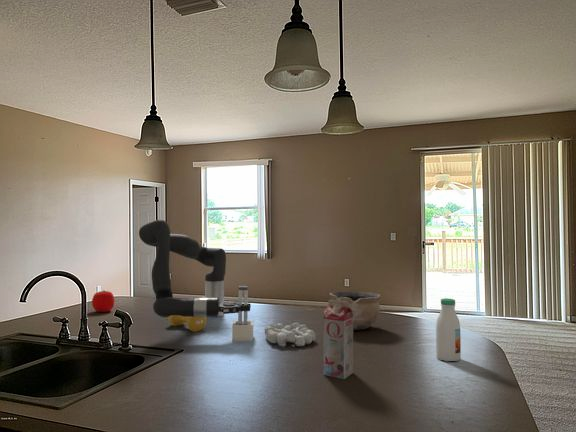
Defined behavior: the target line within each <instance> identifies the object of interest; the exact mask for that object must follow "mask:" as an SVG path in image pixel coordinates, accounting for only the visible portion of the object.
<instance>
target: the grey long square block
mask: <svg viewBox="0 0 576 432" xmlns="http://www.w3.org/2000/svg"><path fill="white" fill-rule="evenodd" d="M248 287H249V286H248V285H239V286H238V299H237V300H238V301H237V302H238V305H240V306H241V305H242V303H244V305H248V303H249V302H248V300H249V299H248V298H249V297H248V296H249V293H248V292H249V288H248ZM248 313H249V311H240V312H239V313H237V315H238V316H237V317H238V318H237V321H238V325H242V321H244V325H247V321H248Z"/></svg>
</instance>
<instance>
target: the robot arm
mask: <svg viewBox="0 0 576 432" xmlns="http://www.w3.org/2000/svg"><path fill="white" fill-rule="evenodd" d="M170 229H171V228H170V226H169V223H168V222H167V221H166V220H164V219H162V218H161V219H160V218H159V219H156V220H153V221H151V222H148V223H146V224H144V225H142V226H141V227H140V228H139V230H138V235H139V238H140V240H141V241H142V242H143V244H145V245H147V246H150V247H155V248H157V252H156V256H155V260H154V262H153V266H152V269H151V285H152V289H153V292H154V294H155V301H154V302H153V305H152V306H153V307H152V309H153V311H154V313H155V314H156V315H158V316H160V317H161V318H167V317H169V316H171V315H180V316H185V317H194V316H195V317H206V318H219V317H223V316H224V315H230V314H238V313H239V312H240V311H242V312H244V311H248V312H250V311H251V306H252V305H251V303H249V302H248V305H244V302H242V305H241V306H240V305H238V301H230V300H229V301H228V300H227V301H225V276H226V269H227V267H226V266H227V254H226V251H225V249H223V248H221V247H205V246H202V245H201V244H199V241H197V240H196V238H193V237H191V236H189V235H187V234H181V233H180V234H179V233H171V230H170ZM170 252H171V253H175V254H176V255H179V256H181V257H185V258H187V259H191V260H195V261H197V262H199V263H200V264H202V265H204V266H206V267H213V269H212V271H211V272H210V273H206V275H205V277H204V278H205V284H204V286H205V287H204V297H197V298H194V297H193V298H191V297H190V298H177V297H174V296H173V295H174V294H173V292H172V282H171V275H170V272H171V271H170Z"/></svg>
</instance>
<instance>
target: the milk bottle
mask: <svg viewBox="0 0 576 432" xmlns="http://www.w3.org/2000/svg"><path fill="white" fill-rule="evenodd" d="M440 306H441V309H440V312H439V315H438V316H437V319H436V325H435V326H436V327H435V328H436V329H435V357H436V358H437V359H438V360H440V361H442V360H444V361H443V362H448V361H457V362H459V361H461V357H462V356H461V355H462V354H461V353H462V351H461V349H462V348H461V347H462V346H461V343H462V342H461V339H462V338H461V323H460V319H459V317H458V315H457V313H456V309H455V307H456V300H455V299H453V298H448V297H447V298H444V297H443V298H441V299H440ZM458 360H459V361H458Z"/></svg>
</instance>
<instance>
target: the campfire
mask: <svg viewBox="0 0 576 432" xmlns="http://www.w3.org/2000/svg"><path fill="white" fill-rule="evenodd" d="M264 334H265V337H266V338H265V339H267V342H269V343H272V344H279V345H284V344H286V343H294V346H297V347H305V345H310V344H311V343H312V342H313V341H315V339H316V333H315V331H314V330H312V329H309V328H308V327H307V325H306V324H300V323H299V322H294V323H292V324H290V325H285V326H284V324H283V323H279V322H278V323H277V324H274V323H271V324H269V325H268V326H266V327H265V328H264Z"/></svg>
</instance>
